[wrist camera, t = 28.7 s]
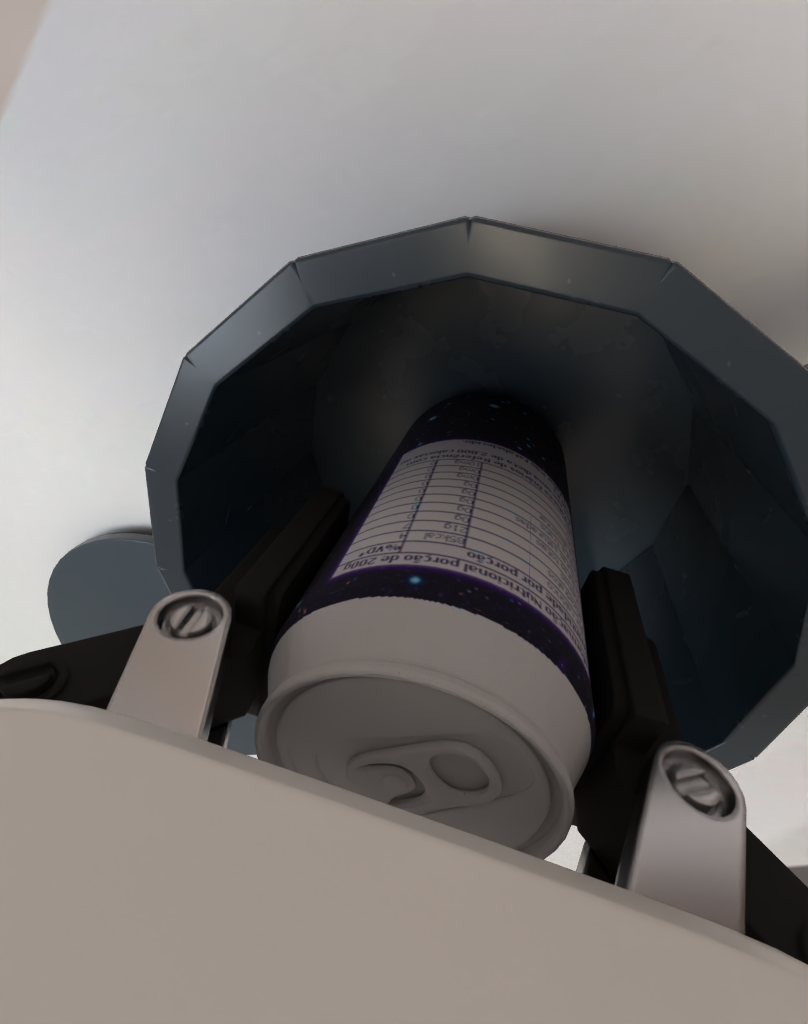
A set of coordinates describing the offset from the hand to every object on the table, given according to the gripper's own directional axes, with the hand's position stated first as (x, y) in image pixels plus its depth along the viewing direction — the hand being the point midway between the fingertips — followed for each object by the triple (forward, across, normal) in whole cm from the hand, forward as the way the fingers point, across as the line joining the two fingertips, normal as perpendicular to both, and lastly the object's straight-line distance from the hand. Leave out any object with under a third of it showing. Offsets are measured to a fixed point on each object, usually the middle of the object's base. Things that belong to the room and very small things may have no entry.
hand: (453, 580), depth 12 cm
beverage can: (+7, 0, 0) cm, 7 cm away
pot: (+7, 0, 0) cm, 7 cm away
